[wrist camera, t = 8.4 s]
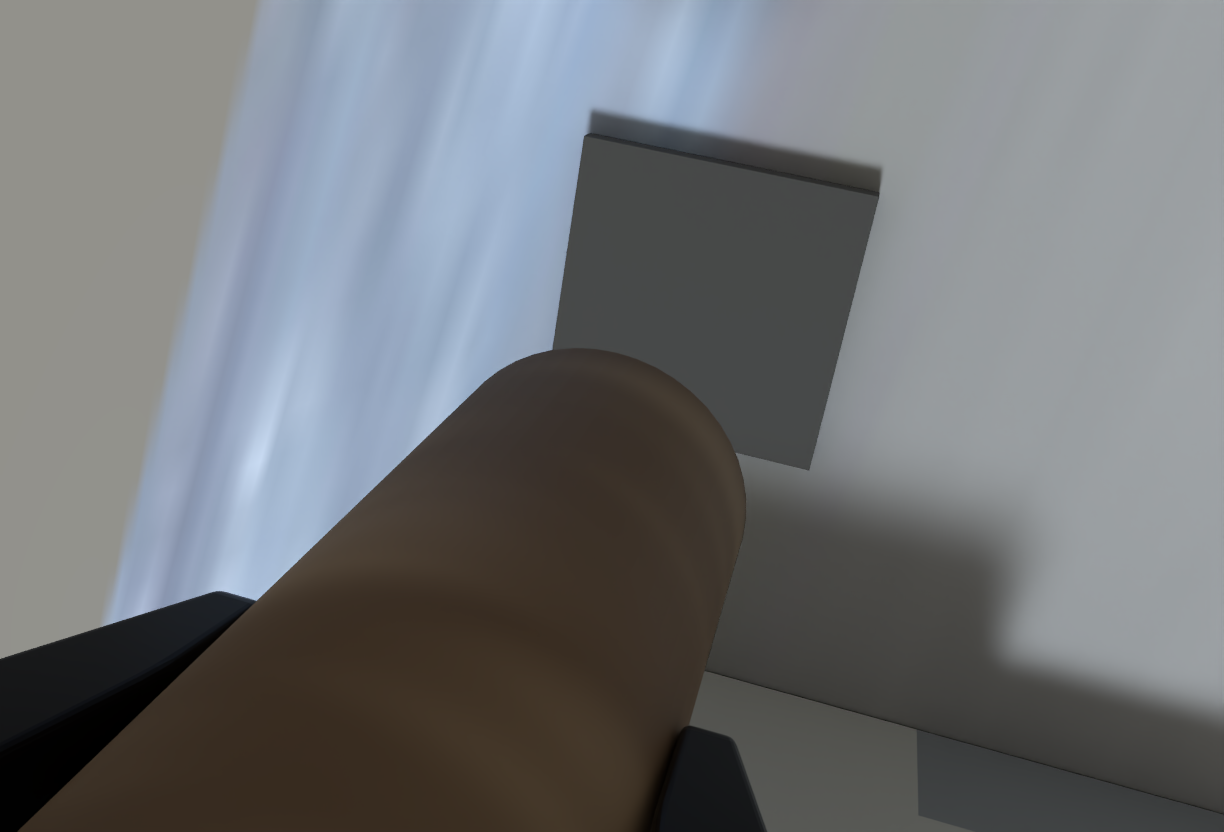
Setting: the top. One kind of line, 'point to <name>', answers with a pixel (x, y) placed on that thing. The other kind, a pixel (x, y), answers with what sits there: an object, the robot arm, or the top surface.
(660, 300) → the pad
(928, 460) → the top surface
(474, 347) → the top surface
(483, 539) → the dowel
